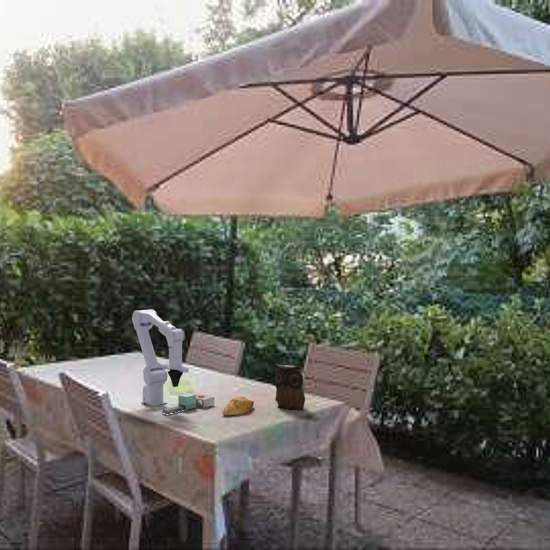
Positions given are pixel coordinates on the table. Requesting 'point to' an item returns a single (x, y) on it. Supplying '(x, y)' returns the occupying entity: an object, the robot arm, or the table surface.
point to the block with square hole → (205, 401)
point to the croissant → (238, 406)
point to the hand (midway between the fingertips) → (175, 386)
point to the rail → (175, 409)
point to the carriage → (187, 400)
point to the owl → (289, 387)
